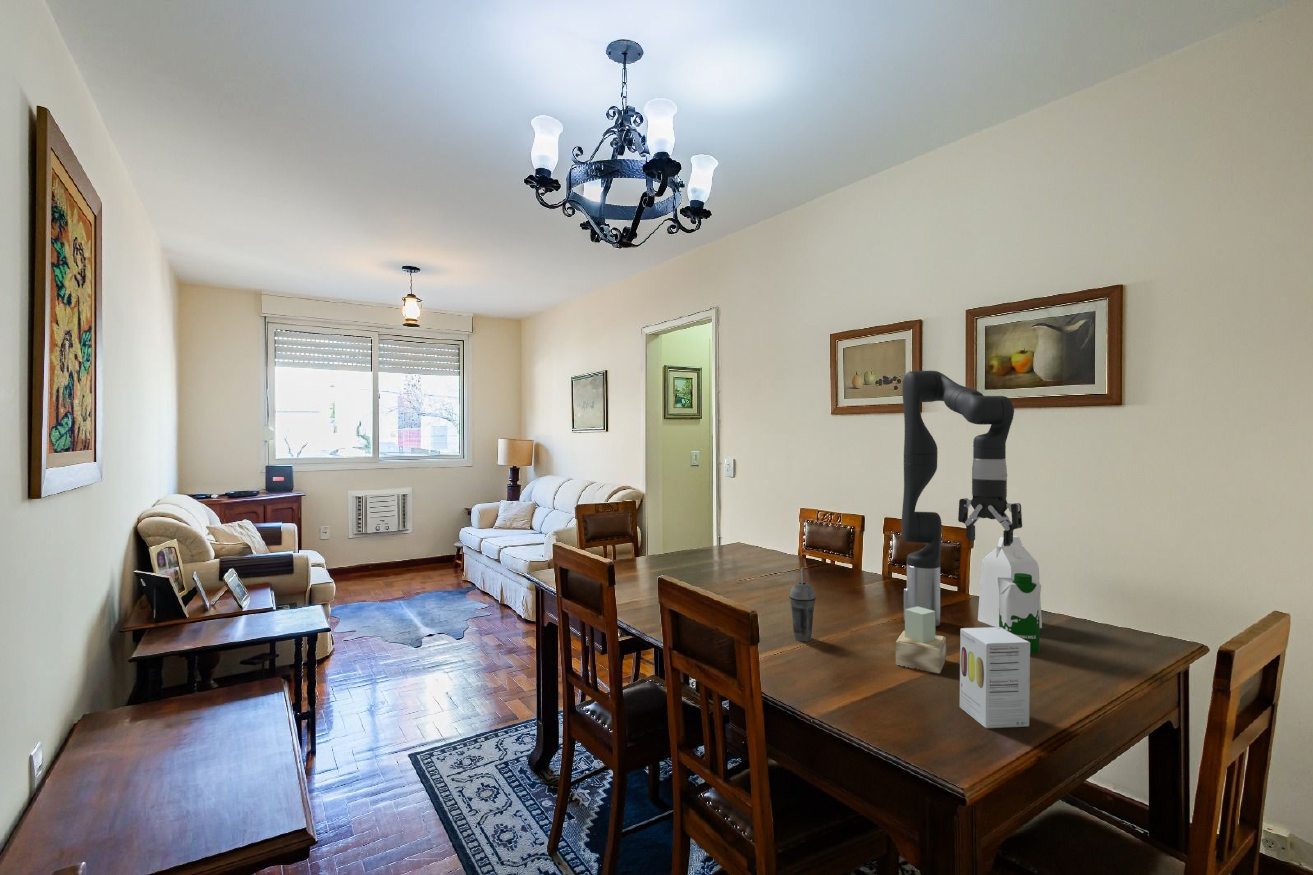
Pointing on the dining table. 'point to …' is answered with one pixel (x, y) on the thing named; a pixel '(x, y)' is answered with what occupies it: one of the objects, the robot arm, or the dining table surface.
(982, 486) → the robot arm
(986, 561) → the milk
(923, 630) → the block
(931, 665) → the beige box
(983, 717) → the supplement box
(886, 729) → the dining table surface
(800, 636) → the beverage cup
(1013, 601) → the milk carton
